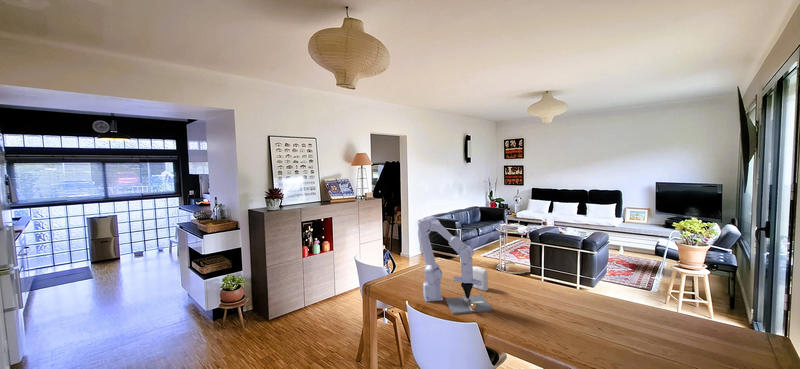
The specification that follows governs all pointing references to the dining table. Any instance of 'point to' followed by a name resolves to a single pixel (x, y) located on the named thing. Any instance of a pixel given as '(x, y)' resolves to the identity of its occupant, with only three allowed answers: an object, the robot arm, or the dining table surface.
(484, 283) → the photo printer
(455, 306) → the lock plate
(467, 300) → the lever with ball knob
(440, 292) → the robot arm
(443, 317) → the dining table surface
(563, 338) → the dining table surface
